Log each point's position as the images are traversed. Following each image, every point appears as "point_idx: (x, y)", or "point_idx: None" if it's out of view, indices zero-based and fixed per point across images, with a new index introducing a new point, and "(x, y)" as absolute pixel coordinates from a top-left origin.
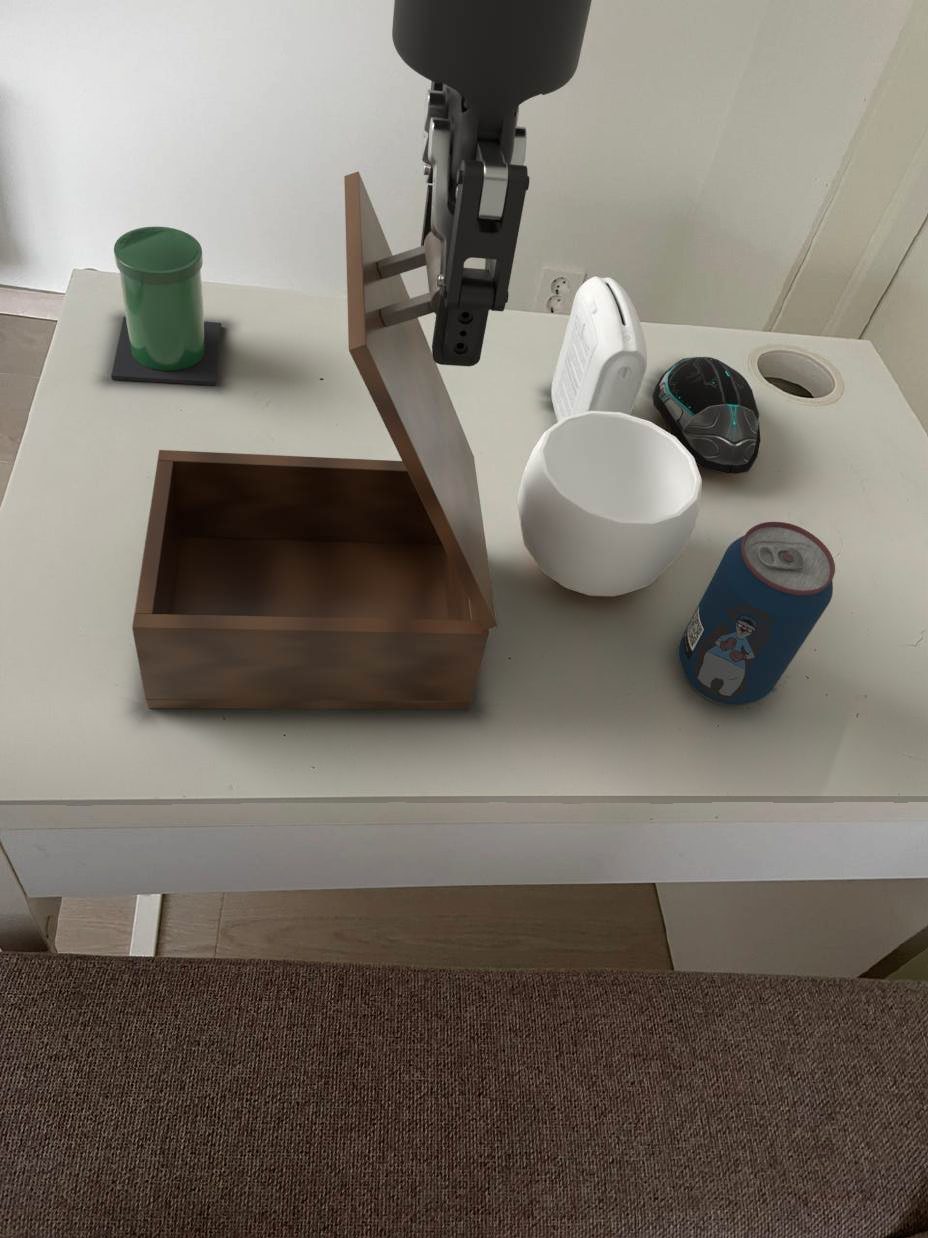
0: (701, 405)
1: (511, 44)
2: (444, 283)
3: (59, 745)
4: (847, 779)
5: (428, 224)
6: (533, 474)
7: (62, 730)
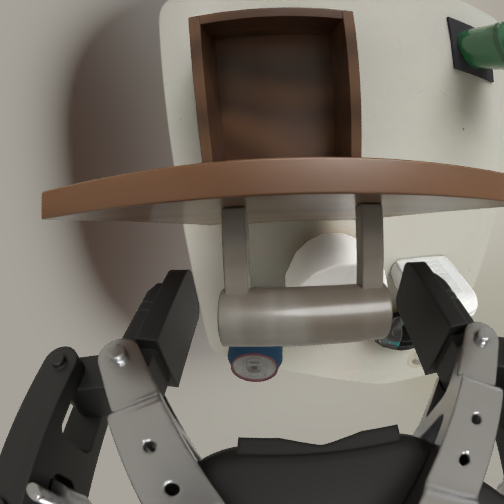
0: (404, 330)
1: None
2: (99, 360)
3: (183, 8)
4: (211, 335)
5: (427, 294)
6: (342, 255)
7: (192, 7)
